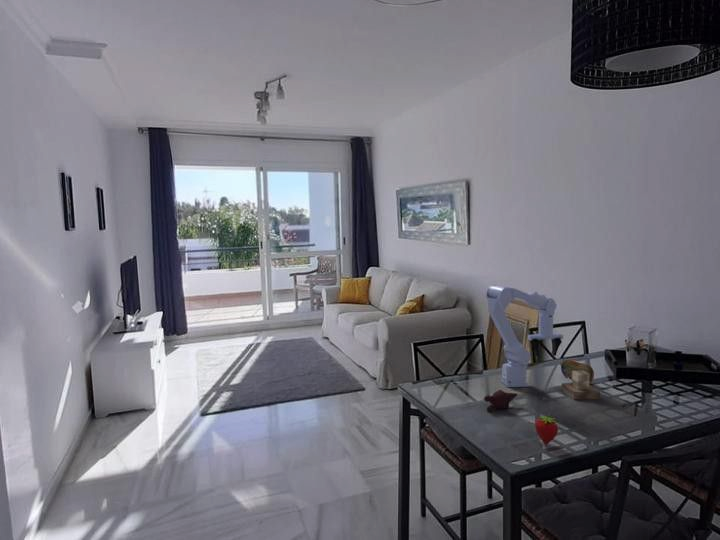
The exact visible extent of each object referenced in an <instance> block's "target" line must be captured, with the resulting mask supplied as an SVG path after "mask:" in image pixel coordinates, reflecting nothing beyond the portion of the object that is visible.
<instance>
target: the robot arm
mask: <svg viewBox="0 0 720 540" xmlns="http://www.w3.org/2000/svg"><path fill="white" fill-rule="evenodd" d="M485 297H486V300H487V308H488V314H489V316H490V318H491V319H492V322H493V324H494V326H495V328H496V329H497V331H498V333H499V335H500V337H501V340H502V342H504V343H503V344H504V346H503V351H504V357H505V358H506V359H507V362H506V363H503V364H502V366H501V381H500V382H502V384H504V385H505V386H506V387H507V388H522V387H523V388H524V387H530V386H531V385H530V384H529V383H527V366H528V364H529V363H530V361H531V353H530V351H529V350H527V349H526V347H525V346H524V345H523V344H522V343H521V342H520V341H519V340H518V337H517V336H516V334H515V332H514V329H513V328H512V326H511V323H510V322H509V320H508V317H507V316H506V314H505V312H504V311H505V310H507V309H508V307H509V305H510V303H511V302H512V300H514V299H517V300H522V301H524V302H525V304H526V306H531V307H532V308H535V309H537V310H538V333H536V334H528V336H527V337H528V338H527V339H528V341H530V344H531V346H532V348H533V351H534V356H535V357H537V358H539V355H540V354H539V353H540V351H539V349H540V344H541V343H540V341H541V340H551V346H552V347H551V356H554V357H557V353H558V350H559V347H560V346H561V344H562V343H563V342H562V341H563V340H564V334H563V333H553V332H554V315H555V311H556V309H557V303H556V300H554V299H553V298H552V297H548V296H547V297H546V295H545V294H539V293H538V292H537V291H529V292H525V291H522V290H519V289H517V288H515V287H509V286H503V285H496V284H491V285H489V286H488V288H487V290H486V293H485Z"/></svg>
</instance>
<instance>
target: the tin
mask: <svg viewBox="0 0 720 540" xmlns="http://www.w3.org/2000/svg"><path fill="white" fill-rule="evenodd" d="M560 370H561V374H562V375H563V377H564V378H566V379H567V378H569V379H568V380H570V379H571V381H572V371H585V372H587V373H588V374H590V375H589V384H590V383H591V382H593V380H594V377H595V372H594V369H593V368H592V366H590V365H589V364H588V363H585V362H581V361H577V360H575V359H565V360H564V361H562V363H561V365H560Z"/></svg>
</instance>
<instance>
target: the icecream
mask: <svg viewBox="0 0 720 540" xmlns="http://www.w3.org/2000/svg"><path fill="white" fill-rule="evenodd" d="M517 396H518V393H513V392H505V391H503V390H501V389H499V390H497V391H495V392H493V394H492V395H489V394H487V395H485V396H484V397H483V400H484V401H485V402H487V403H490V404H489V405H488V406H487V408H486V411H487V412H489V413H490V412H493V411H494V410H496V409H500V410H501V409H502V410H504V409H507V408H510V403H511V402H512V401H514V399H515V398H516V397H517Z"/></svg>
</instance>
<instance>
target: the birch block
mask: <svg viewBox="0 0 720 540" xmlns="http://www.w3.org/2000/svg"><path fill="white" fill-rule="evenodd" d="M589 375H590V374H588V373H587V372H585V371H572V380H571V383H572V386H573V387H575V388H576V389H578V390H579V389H589V385H590V383H589Z"/></svg>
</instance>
